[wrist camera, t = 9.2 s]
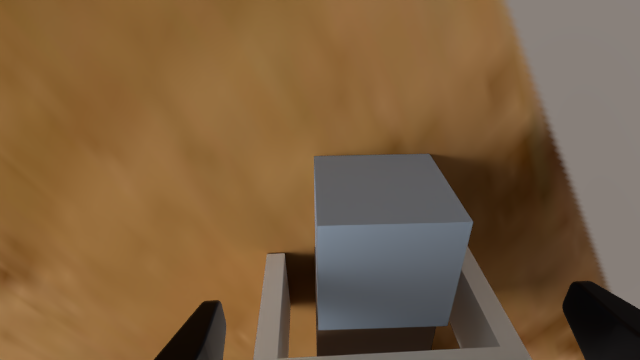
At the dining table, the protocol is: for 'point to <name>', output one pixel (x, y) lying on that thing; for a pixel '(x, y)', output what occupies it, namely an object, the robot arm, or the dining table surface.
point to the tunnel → (468, 326)
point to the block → (386, 241)
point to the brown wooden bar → (371, 339)
